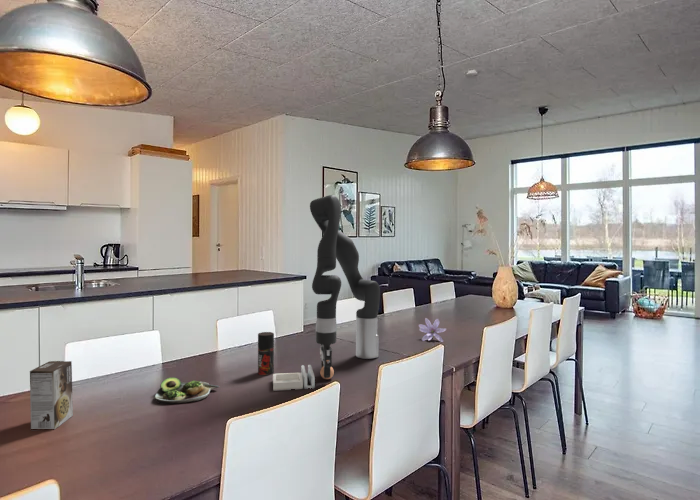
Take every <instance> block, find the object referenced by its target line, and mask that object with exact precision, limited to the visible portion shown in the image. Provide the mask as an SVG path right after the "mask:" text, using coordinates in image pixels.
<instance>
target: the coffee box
mask: <svg viewBox="0 0 700 500" xmlns="http://www.w3.org/2000/svg"><path fill="white" fill-rule="evenodd" d="M72 362H73V361H72V360H71V361H66V360H65V361H64V360H52V361H51V360H50V361H48V362H45V363H43V364H41V365H39V366H38V367H35V368H33V369H31V370H30V371H29V387H30V389H29V390H30V391H29V392H30V393H29V394H30V395H29V396H30V397H29V398H30V430H31V429H54V430H56V429H57V428H59V427H60V426H61V425H63V424H64V423H65V422H66V421H68V420H69V419H71V417H73V415H74V414H73V413H74V409H73V405H74V404H73V402H74V401H73V370H72V369H73V368H72V366H73V365H72Z"/></svg>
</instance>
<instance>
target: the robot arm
mask: <svg viewBox="0 0 700 500" xmlns="http://www.w3.org/2000/svg"><path fill="white" fill-rule="evenodd" d="M309 209H310V211H309V212H310V213H311V215H312V218H313V220H314V222H315V223H316V224H317V226H318V228H319V229H320V231H321V232H322V233H323V235H322V237H321V239H320V241H319V242H318V246H317V255H316V256H317V258H316V259H317V260H316V270H315V273H314V276H313V279H312V282H311V288H312V292H313V293H314V294H316V295H330V297H329V298H328V299H326V300H320V301H318V302H317V304H316V319H315V320H316V321H315V343H317V344H318V345H320V347H319V356H320V360H321V362H320V363H321V364H320V365H321V367H320V369H321V368H322V367H323V366H324V377H325V378H329V377H330V367H332V366H333V363H332V361H333V358H332V355H333V354H332V353H333V349H332V346H331V345H333V344H336V343H337V327H338V326H337V324H338V323H337V302H338V298H339V294H340V291H341V287H342V280H341V278H340V277H339V275H335V274H334V275H333V274H331V275H329V274H324V273H327V272H331V271H333V270H335V269H336V268H337V262H338V264H339V266H340V268H341V269H342V271H343V274H344V277H345V278H346V280H347V283H348V285H349V288H350V290H351V293H352V295H353V297H354V298H355V300H358V301H361V302H364V304H363V307H362V308H358V309H357V310H356V311H355V312H356V313H355V315H356V316H355V319H356V320H355V321H356V322H355V329H356V331H355V357H356V358H359V359H362V360H363V359H364V360H365V359H366V360H368V359H369V360H370V359H375V358H379V340H380V339H379V334H378V313H379V309H380V301H381V300H380V299H381V298H380V297H381V288H380V285H379V283H378V282H377V281H376V280H371V279H370V280H368V279H364V278H363V277H362V275H361V273H360V271H359V263H360V256H359V251H358V249H357V247H356V245H355V243H354V241H353V240H352V239H351V238H350V237H349V236H348V235H346V233H343V232H342V231H341V230H339V229H340V223H341V214H342V206H341V202H340V200H339V198H338V197H337V196H336V195H335V194H329V195H325V196H321V197H319V198H315V199H313V200H311V202H310V203H309ZM323 274H324V275H323ZM332 368H333V367H332Z"/></svg>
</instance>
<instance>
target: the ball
mask: <svg viewBox="0 0 700 500" xmlns="http://www.w3.org/2000/svg"><path fill="white" fill-rule="evenodd" d="M334 372H335V371H334V368H333V367H330V377H329V378H325V377H324V366H323V367H322V368H321V367H320V371H319V373H320V376H321V378H322V379H323V380H330V379H333V378H332V377H334V374H335V373H334Z"/></svg>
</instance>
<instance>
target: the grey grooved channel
mask: <svg viewBox="0 0 700 500" xmlns="http://www.w3.org/2000/svg"><path fill="white" fill-rule="evenodd" d="M300 369H301V370H300V372H301V375H302V379H303V389H304V390H308V388H310V389H311V388H312V389H315V388H316V386H315V384H316V383H315V382H316V381H315V379H316V378H315V377H316V376H315V373H314V371H313V367H312V365H311V364H308V365H307V370H306V367H305V365H303V364H302V365H301V367H300ZM308 382H309V384H310V385H309V384H308ZM310 389H309V390H310Z"/></svg>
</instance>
